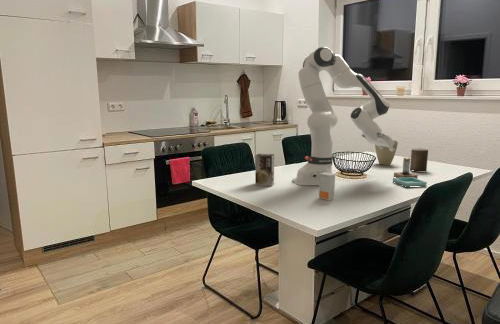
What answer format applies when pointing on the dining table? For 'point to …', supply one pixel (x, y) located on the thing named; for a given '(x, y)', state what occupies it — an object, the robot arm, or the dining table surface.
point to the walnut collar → (400, 175)
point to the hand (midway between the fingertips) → (387, 149)
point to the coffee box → (264, 169)
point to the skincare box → (326, 186)
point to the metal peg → (406, 166)
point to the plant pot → (386, 154)
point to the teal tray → (409, 181)
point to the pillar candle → (419, 159)
